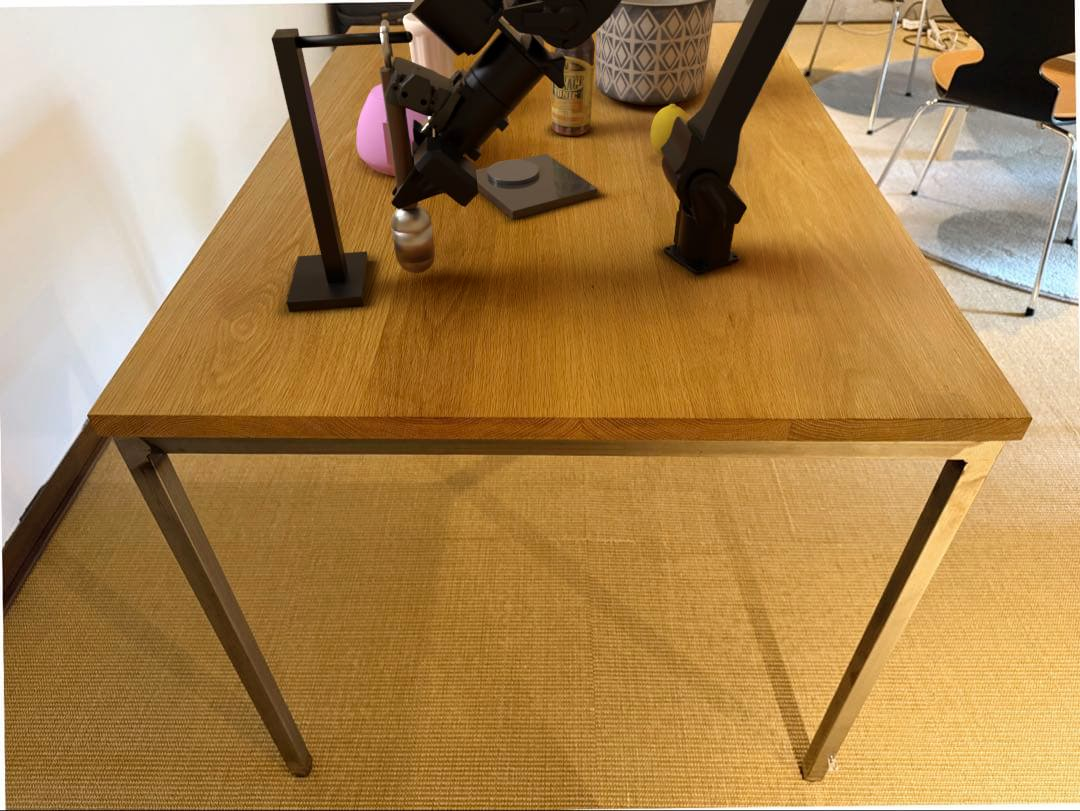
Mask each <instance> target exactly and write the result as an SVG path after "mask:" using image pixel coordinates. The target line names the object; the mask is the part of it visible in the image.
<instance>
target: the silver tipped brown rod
mask: <svg viewBox="0 0 1080 811" xmlns="http://www.w3.org/2000/svg"><path fill="white" fill-rule="evenodd" d="M379 32H380V37H381V44H380V45H381V50H382V58H383V64H384V65H382V66H381V67H380V68H379V77H380V84H382V91H383V97H384V96H385V92H386V89H387V86H388V83H389V80H390V76H391V73H392V67H393V62H394V52H393V44H389V38H388V32H391V29H390V23H389V21H388V20H387V19H383V20H381V22H380V28H379ZM384 104H385V111H386V118H387V125H388V131H389V138H390V145H391V152H392V159H393V166H394V172H395V176H394V179H395V185H396V186H397V190H398V189H399V187H400V185H401V184H402V182H403V180H404V179H405V177H406V175H407V174H408V172H409V170H410V169H411V167H412V165H413V160H412V152H411V145H410V137H409V129H408V121H407V114H406V108H404V107H402V106H400V107H396V106H394V105H391V104H389V103H388V102H387V101H386V100H385V99H384ZM391 215H392V216H391V218H390V219H391V220H390V228H391V234H392V240H393V247H394V253H395V258H396V261H397V263H398V266H400V267H401V269H402V270H404V271H406V272H407V273H411V274H422V273H424V272H426V271H427V270H429V269H430V268H431V267H432V266H433V264H434V262H435V259H436V246H435V239H434V231H433V230H434V229H433V221H432V218H431V215H430V213H429V212H428V210H427V209H426V208H424V207H423V206H422V205H420V204H419V202H417V203H414V204H412V205H409V206H407V207H404V208H401V209H397V208H395V210H394V211H393V213H392V214H391Z"/></svg>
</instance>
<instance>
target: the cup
mask: <svg viewBox="0 0 1080 811" xmlns="http://www.w3.org/2000/svg"><path fill="white" fill-rule="evenodd" d="M402 23H403V27H404V29H405V31H409V32H411V33H412V35H413V40H412V41H411V42H410V43H408V45H409V51H410V57H411V58H410V59H411V62H414V63H416V64H419V65H421V66H423V67H426V68H428V69H431V70H433V71H435V72H437V73H439V74H440V75H443V76H445V77H447V78H449V79H450V78H451V77H452V76H453V75H454V73H455V64H454V52H453V51H452V50H450V49H449V48H448V47H447V46H446V45H445V44H444V43H443V42H442V41H441V40H440V39H439V38H438V37H436V36H435V35H434V34H433V33H432V32H431V31H430V30H429V29H428V28H427V27H426V26H425V25H423V24H422V23H421V22H420V21H419V20H418V19H417V18H416V17H415V16H414V15H413V14H412V13H407V14H405V15H404V16H403V18H402Z"/></svg>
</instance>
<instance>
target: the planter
mask: <svg viewBox="0 0 1080 811" xmlns="http://www.w3.org/2000/svg"><path fill="white" fill-rule="evenodd" d="M716 3H717V0H622V1H621V2H620V4H619V5H618V7H617V8H616V9H615V11H614V12H613V14H612V15H611V16H610V17H609V19H608V20H607V21H606V22H605V23H604V24H603V25H602V26H601V27H600V28H599V29H598V30H597V31H596V32H595V85H596V88H597V90H599V92H600V93H601V94H602V95H604V96H606V97H608V98H611V99H613V100H616V101H619V102H624V103H629V104H634V105H639V106H662V105H667V104H668V105H670V104H675V103H680V102H684V101H688V100H690V99H692V98H695V97H696V96H698V95H699V94H700V93H701V92H702V90H703V88H704V85H705V78H706V72H707V65H708V64H707V63H708V57H709V50H710V45H711V44H710V43H711V38H712V30H713V25H714V17H715V12H716V11H715V10H716V5H717V4H716Z"/></svg>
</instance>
